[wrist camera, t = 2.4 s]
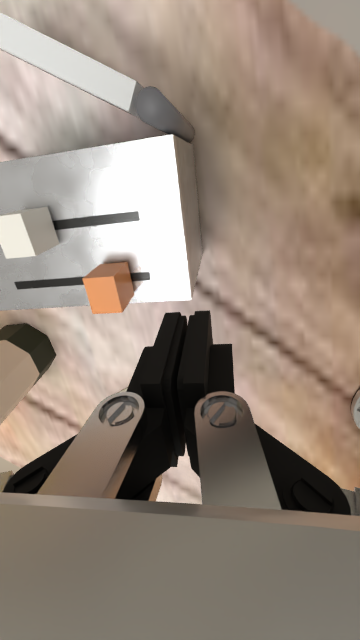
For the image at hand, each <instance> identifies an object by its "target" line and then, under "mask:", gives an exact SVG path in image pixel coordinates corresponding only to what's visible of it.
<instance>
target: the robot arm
mask: <svg viewBox="0 0 360 640" xmlns="http://www.w3.org/2000/svg"><path fill="white" fill-rule="evenodd" d="M351 414H352V417H353V420H354V421H355V423H356V425H357V427H358V428H359V429H360V389H359V390H358V392H357V393H356V395H355V396H354V398H353V401H352V404H351ZM185 445H187V451H188V456H189V457H190V463H191V468H192V469H193V470H194V472H195V473H196V474H197V475H198V476H199V477H200V482H201V493H202V504H187V503H171V502H155V501H156V498H157V495H158V492H159V489H160V486H161V483H162V473H164V472H165V471H166V470H168V469H169V468H170V467H177V463H178V456H184V453H185ZM0 640H360V488H357V487H355V488H354V491H350V490H346V489H342V488H340V487H339V486H338V485H337V484H336V483H335V482H334V481H333V480H332V479H330V478H329V477H328V476H327V475H325V474H324V473H322V472H321V471H320V470H318V469H317V468H315V467H314V466H313V465H311V464H310V463H309V462H307V461H306V460H304V459H303V458H302V457H300V456H299V455H297V454H296V453H295V452H293V451H292V450H291V449H289V448H288V447H286V446H285V445H284V444H282V443H281V442H279V441H278V440H277V439H275V438H274V437H273V436H271V435H270V434H268V433H267V432H266V431H264V430H263V429H261V428H260V427H259V426H257V425H256V424H255V423H254V421H253V417H252V414H251V411H250V408H249V406H248V404H247V402H246V401H245V400H244V399H243V398H242V397H240V396H238V395H236V394H235V393H234V375H233V357H232V344H213V339H212V327H211V315H210V311H195V315H190V316H189V321H188V326H187V318H186V316H181V313H180V312H175V313H165V315H164V318H163V321H162V324H161V326H160V329H159V332H158V335H157V338H156V340H155V343H154V346H152V347H145V348H144V350H143V352H142V354H141V357H140V359H139V362H138V364H137V367H136V369H135V372H134V374H133V377H132V379H131V381H130V384H129V386H128V389H127V391H126V392H120V393H116V394H113V395H111V396H109V397H107V398H106V399H104V400H103V401H101V402H100V404H99V405H98V406H97V407H96V408H95V410H94V411H93V413H92V414H91V416H90V417H89V419H88V420H87V421H86V423H85V424H84V426H83V427H82V429H81V430H80V432H79V433H78V434H77V435H75V436H74V437H72V438H70V439H69V440H67V441H65V442H64V443H62V444H60V445H59V446H57V447H55V448H54V449H52V450H50V451H49V452H47V453H45V454H44V455H42V456H40V457H39V458H37V459H35V460H34V461H32V462H30V463H29V464H27V465H25V466H24V467H23V468H21V469H20V470H19V471H17V472H16V473H15V474H13V472H12V471H8V472H3V473H0Z"/></svg>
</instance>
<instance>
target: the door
mask: <svg viewBox="0 0 360 640" xmlns="http://www.w3.org/2000/svg"><path fill="white" fill-rule="evenodd" d="M0 49H1V50H3V51H5V52H7V53H9V54H11V55H13V56H15V57H17V58H19V59H21V60H23V61H25V62H27V63H29V64H31V65H33V66H35V67H37V68H39V69H41V70H43V71H45V72H47V73H49V74H51V75H53V76H55V77H57V78H59V79H61V80H63V81H65V82H67V83H69V84H71V85H73V86H75V87H77V88H79V89H81V90H83V91H85V92H87V93H89V94H91V95H93V96H95V97H97V98H99V99H101V100H103V101H105V102H107V103H109V104H111V105H113V106H115V107H118V108H120V109H122V110H124V111H126V112H128V113H130V114H132V115H134V116H136V117H138V118H140V119H141V120H142V121H143V122H145V123H147V124H149V125H151V126H153V127H155V128H157V129H159V130H161V131H163V132H165V133H167V134H169V135H171V134H173V135H175V136H177V137H179V138H181V139H182V140H184V141H186V142H190V141H191V140H192V139H193V138H194V133H195V132H194V128H193V127H192V126H191V124H190V123H189V122H188V121H187V120H186V119H185V118H184V117H183V116H182V115H181V114H180V112H179V111H178V110H177V109H176V108H175V107H174V106H173V105H172V104H171V103H170V102H169V101H168V99H167V98H166V97H165V96H164V95H163V94H162V93H161V92H160V91H159V90H158V89H157V88H155V87H151V86H149V87H145V88H143V87H142V86H141V85H140V84H139V83H138V82H137V81H135V80H133V79H131V78H129V77H127V76H125V75H123V74H121V73H119V72H117V71H115V70H113V69H111V68H109V67H108V66H106V65H104V64H102V63H100V62H98V61H96V60H94V59H92V58H90V57H88V56H86V55H84V54H82V53H80V52H78V51H76V50H74V49H72V48H70V47H68V46H66V45H64V44H62V43H60V42H58V41H56V40H54V39H52V38H50V37H48V36H46V35H44V34H42V33H40V32H38V31H36V30H34V29H32V28H30V27H28V26H26V25H24V24H22V23H20V22H18V21H16V20H15V19H13V18H11V17H9V16H7V15H5V14H3V13H1V12H0Z"/></svg>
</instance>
